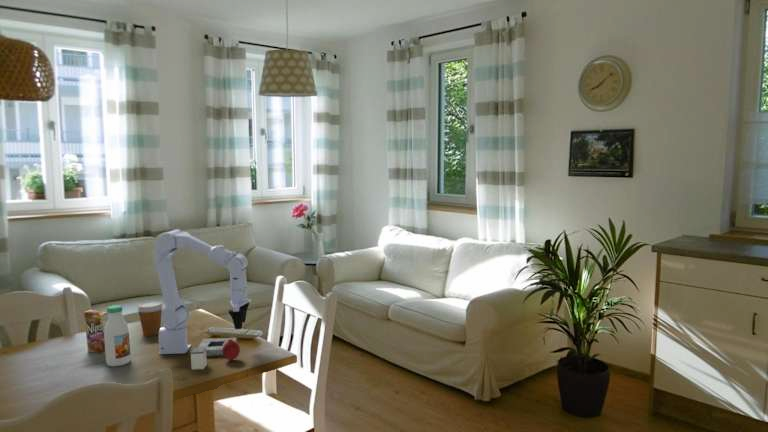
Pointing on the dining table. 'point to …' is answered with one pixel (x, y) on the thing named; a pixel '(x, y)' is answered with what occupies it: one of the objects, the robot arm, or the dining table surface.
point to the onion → (230, 350)
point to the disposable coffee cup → (150, 317)
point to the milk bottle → (116, 338)
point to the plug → (198, 358)
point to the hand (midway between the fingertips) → (240, 325)
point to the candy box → (95, 329)
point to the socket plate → (214, 346)
